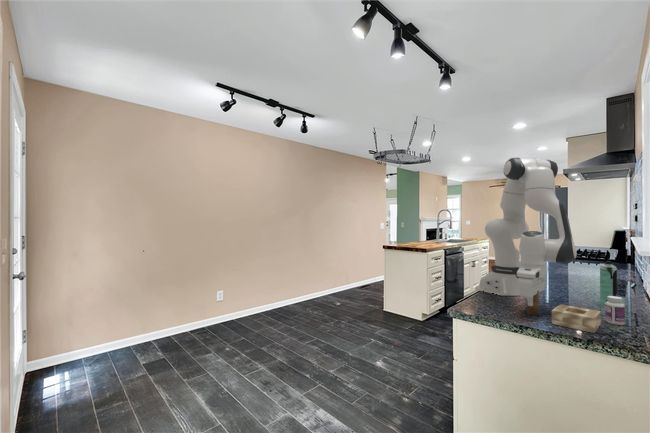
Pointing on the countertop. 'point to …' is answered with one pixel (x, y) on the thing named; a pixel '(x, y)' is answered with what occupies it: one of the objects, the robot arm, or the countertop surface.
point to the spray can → (607, 282)
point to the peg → (534, 306)
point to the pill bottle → (615, 310)
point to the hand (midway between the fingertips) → (533, 304)
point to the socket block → (576, 318)
